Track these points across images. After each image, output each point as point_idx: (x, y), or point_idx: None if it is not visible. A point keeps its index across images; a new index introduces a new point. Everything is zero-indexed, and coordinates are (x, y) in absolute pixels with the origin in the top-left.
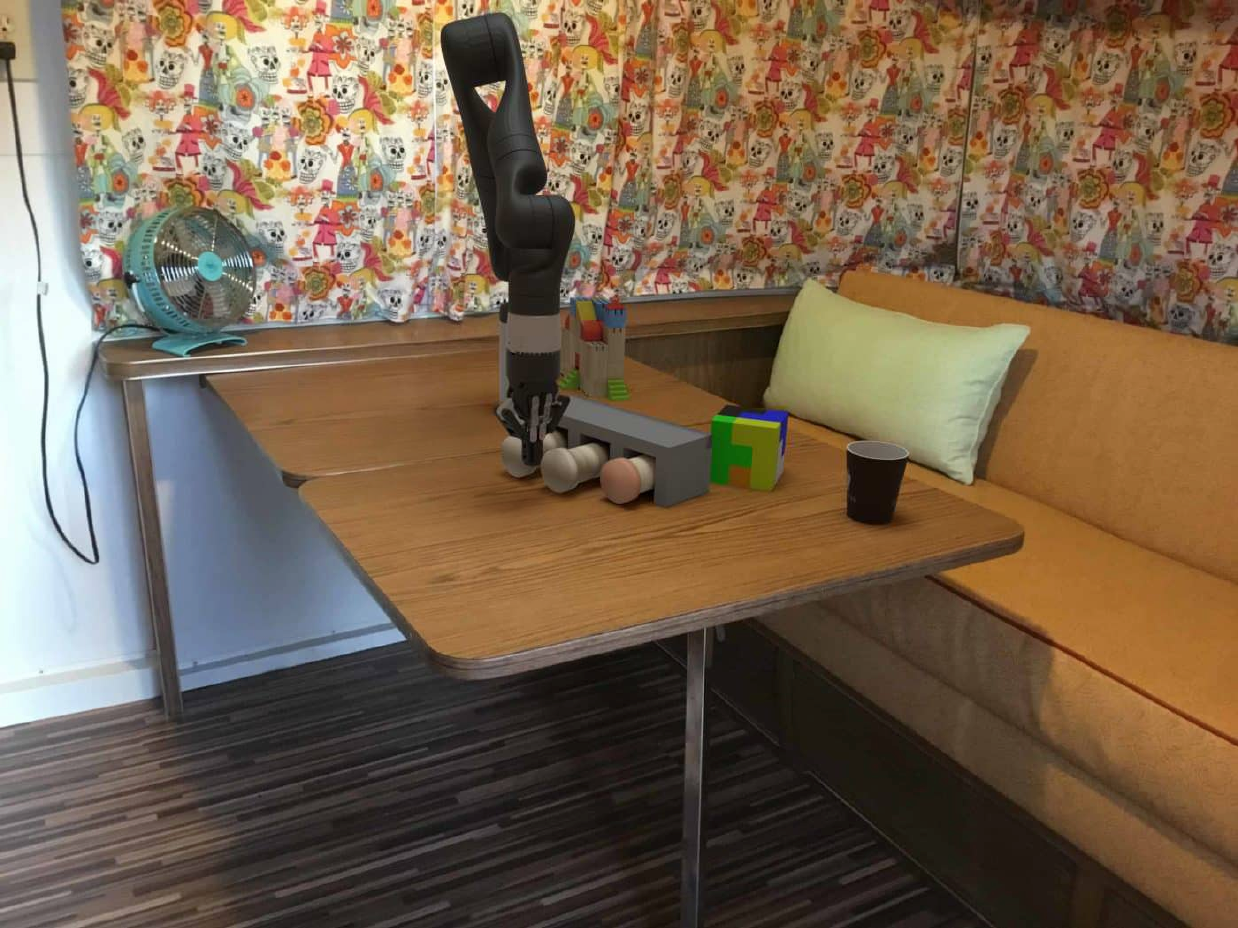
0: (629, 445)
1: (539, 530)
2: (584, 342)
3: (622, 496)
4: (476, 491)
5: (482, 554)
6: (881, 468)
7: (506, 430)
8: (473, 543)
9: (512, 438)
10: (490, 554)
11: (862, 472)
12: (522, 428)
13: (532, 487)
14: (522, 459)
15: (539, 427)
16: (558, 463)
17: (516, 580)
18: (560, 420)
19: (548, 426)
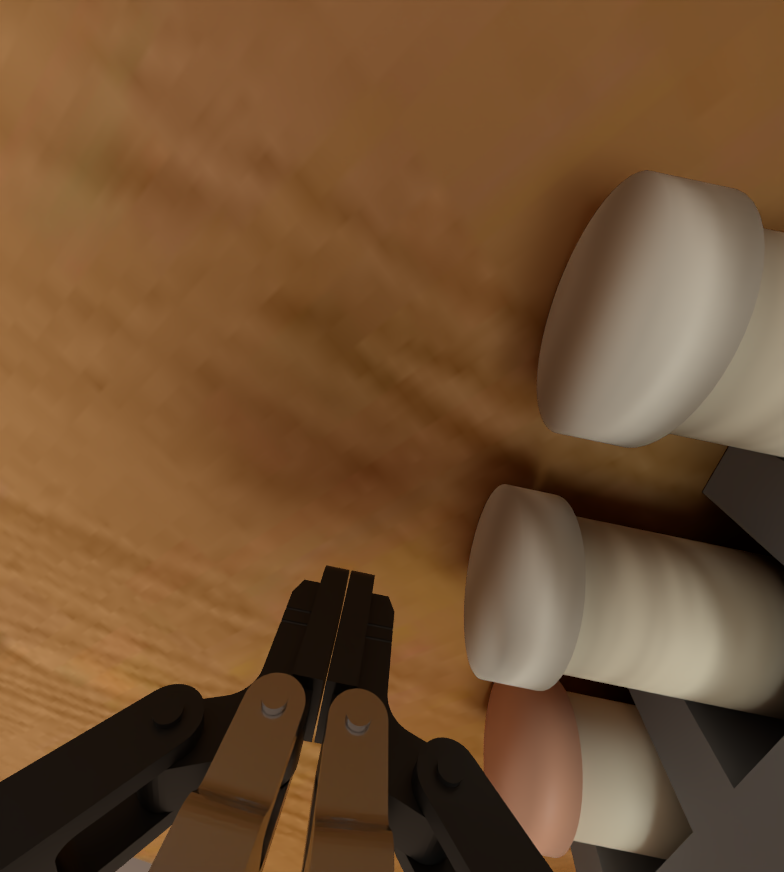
0: (685, 869)
1: (214, 611)
2: None
3: (491, 722)
4: (317, 266)
5: (9, 584)
6: None
7: (84, 733)
8: (24, 536)
9: (645, 303)
10: (25, 597)
11: None
12: (119, 859)
13: (493, 420)
14: (294, 592)
15: (304, 856)
16: (490, 616)
17: (3, 686)
18: None
19: (403, 855)
